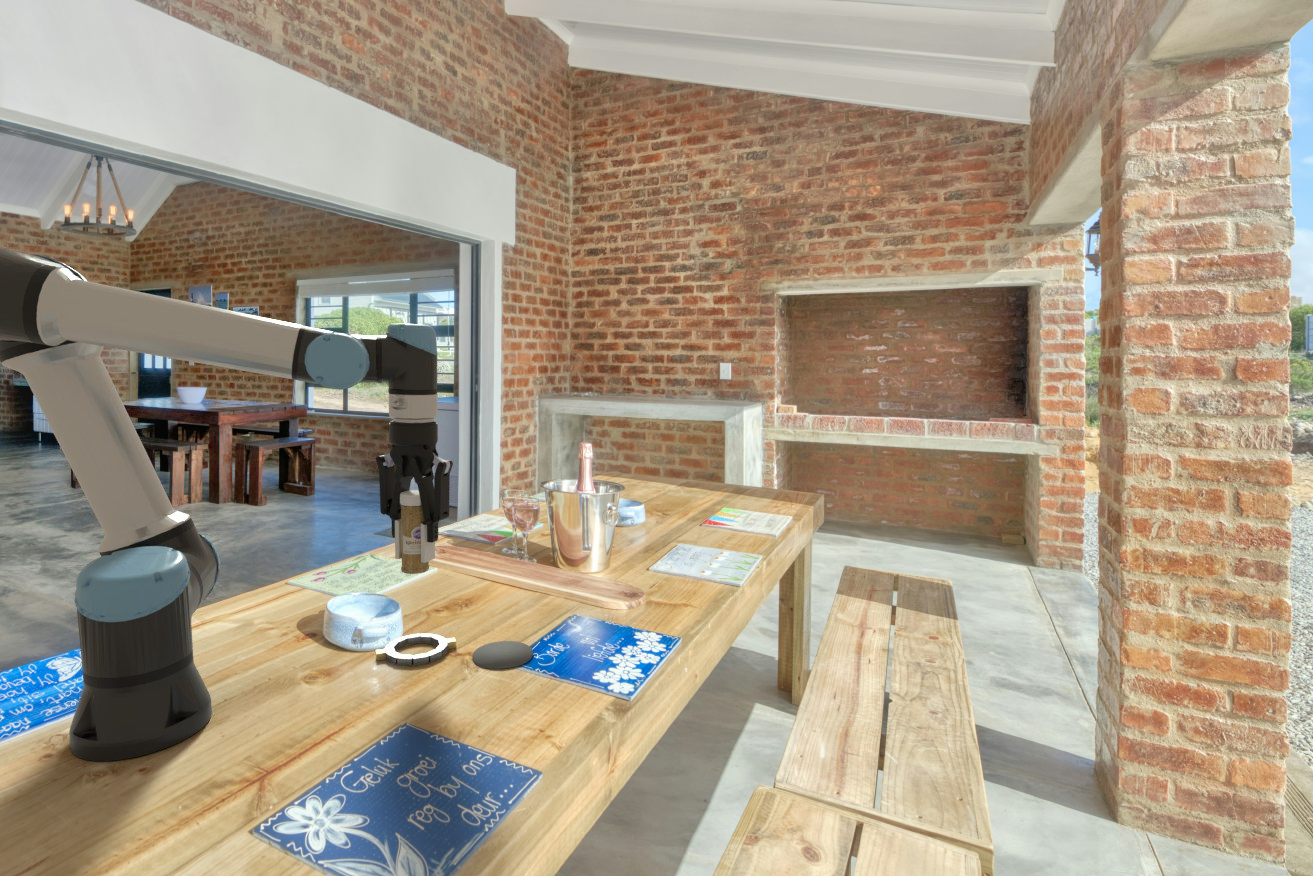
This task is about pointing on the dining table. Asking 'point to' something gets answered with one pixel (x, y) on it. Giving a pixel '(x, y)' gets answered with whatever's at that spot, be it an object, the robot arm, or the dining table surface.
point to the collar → (418, 659)
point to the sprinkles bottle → (411, 533)
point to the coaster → (502, 655)
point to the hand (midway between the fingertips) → (415, 558)
